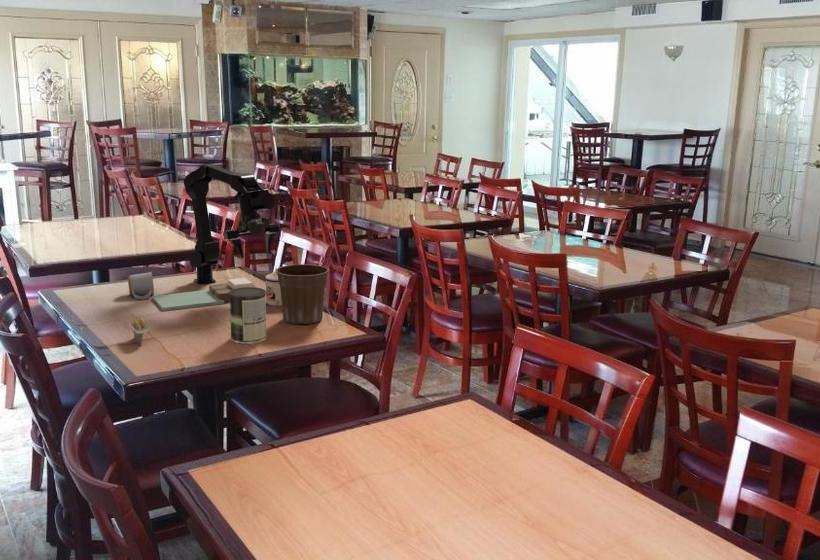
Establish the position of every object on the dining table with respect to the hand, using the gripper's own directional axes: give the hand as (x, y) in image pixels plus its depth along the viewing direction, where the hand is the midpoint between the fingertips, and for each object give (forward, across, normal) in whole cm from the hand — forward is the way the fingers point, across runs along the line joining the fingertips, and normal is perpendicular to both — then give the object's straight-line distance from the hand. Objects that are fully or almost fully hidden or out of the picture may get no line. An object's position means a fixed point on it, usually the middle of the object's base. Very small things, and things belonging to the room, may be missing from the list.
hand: (255, 256), depth 269 cm
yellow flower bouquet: (+16, -46, -34) cm, 60 cm away
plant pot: (+19, +2, -33) cm, 38 cm away
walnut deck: (+13, -9, +2) cm, 16 cm away
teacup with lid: (+16, +2, -13) cm, 21 cm away
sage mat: (+11, -25, +2) cm, 27 cm away
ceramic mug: (+9, -37, +16) cm, 41 cm away
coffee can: (+19, -18, -44) cm, 51 cm away
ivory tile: (+10, -6, +2) cm, 12 cm away
